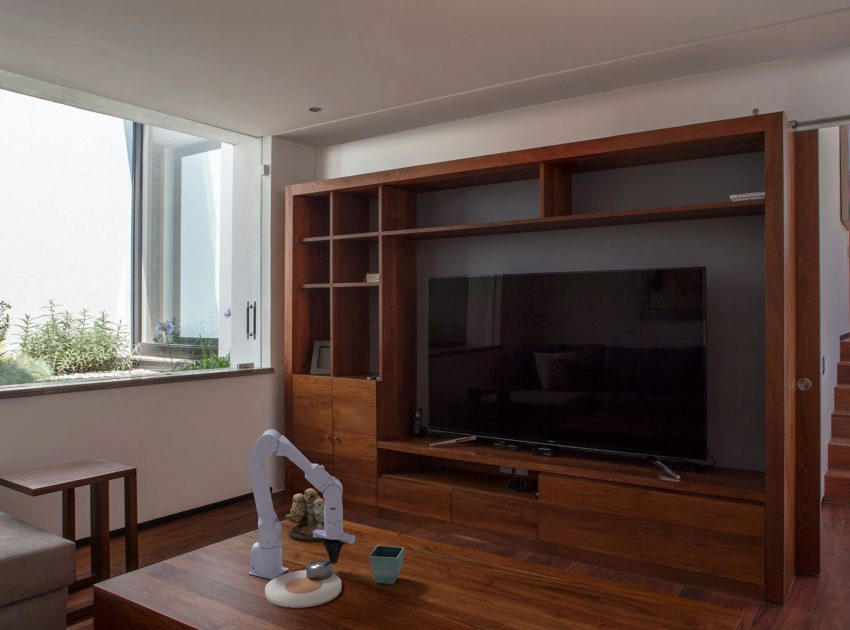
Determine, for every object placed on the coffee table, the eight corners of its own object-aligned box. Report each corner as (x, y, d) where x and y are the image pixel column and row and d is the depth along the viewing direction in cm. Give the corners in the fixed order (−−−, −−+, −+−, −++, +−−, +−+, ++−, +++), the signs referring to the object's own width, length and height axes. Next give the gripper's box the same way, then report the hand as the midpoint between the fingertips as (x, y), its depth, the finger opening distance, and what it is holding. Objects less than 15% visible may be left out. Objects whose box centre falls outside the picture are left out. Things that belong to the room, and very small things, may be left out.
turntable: (248, 598, 188) (248, 593, 188) (296, 570, 208) (296, 565, 208) (312, 614, 179) (312, 608, 179) (355, 582, 199) (355, 577, 199)
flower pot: (398, 588, 195) (397, 557, 194) (369, 585, 196) (368, 555, 196) (404, 575, 203) (404, 546, 203) (377, 573, 205) (376, 545, 205)
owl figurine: (280, 540, 235) (279, 492, 235) (293, 529, 246) (292, 483, 246) (328, 543, 231) (327, 494, 231) (339, 532, 243) (338, 485, 242)
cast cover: (300, 577, 199) (300, 567, 199) (316, 567, 206) (316, 558, 206) (322, 582, 195) (322, 571, 195) (337, 572, 203) (337, 562, 203)
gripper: (360, 518, 208) (360, 561, 208) (321, 512, 214) (322, 554, 215) (348, 525, 202) (348, 570, 202) (308, 519, 208) (309, 562, 208)
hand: (334, 562), depth 208 cm, fingers closed
